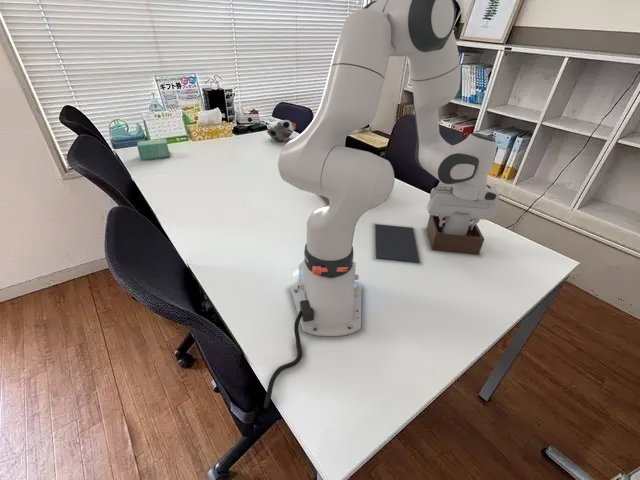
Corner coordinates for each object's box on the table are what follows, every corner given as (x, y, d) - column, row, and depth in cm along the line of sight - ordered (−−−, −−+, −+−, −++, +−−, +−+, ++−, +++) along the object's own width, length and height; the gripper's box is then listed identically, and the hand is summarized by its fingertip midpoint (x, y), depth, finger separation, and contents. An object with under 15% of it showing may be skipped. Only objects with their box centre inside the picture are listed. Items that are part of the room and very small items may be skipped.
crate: (478, 254, 104) (484, 239, 100) (431, 250, 105) (435, 234, 102) (468, 233, 114) (473, 218, 111) (426, 229, 115) (429, 214, 112)
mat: (419, 263, 99) (419, 262, 99) (376, 258, 100) (376, 257, 100) (412, 228, 116) (412, 227, 115) (375, 225, 117) (375, 224, 116)
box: (140, 155, 165) (136, 140, 161) (169, 152, 171) (166, 138, 166) (140, 160, 160) (136, 145, 156) (170, 157, 165) (167, 142, 161)
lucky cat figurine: (281, 134, 204) (291, 114, 196) (291, 146, 200) (302, 126, 192) (262, 131, 193) (273, 110, 185) (273, 144, 188) (284, 123, 181)
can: (439, 245, 107) (448, 213, 101) (439, 233, 113) (448, 202, 107) (463, 249, 106) (474, 217, 99) (462, 237, 112) (472, 206, 105)
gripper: (433, 190, 97) (424, 229, 105) (505, 196, 95) (490, 235, 103) (430, 181, 102) (421, 219, 110) (498, 187, 100) (484, 225, 108)
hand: (455, 227), depth 106 cm, fingers closed on can, 7 cm apart
